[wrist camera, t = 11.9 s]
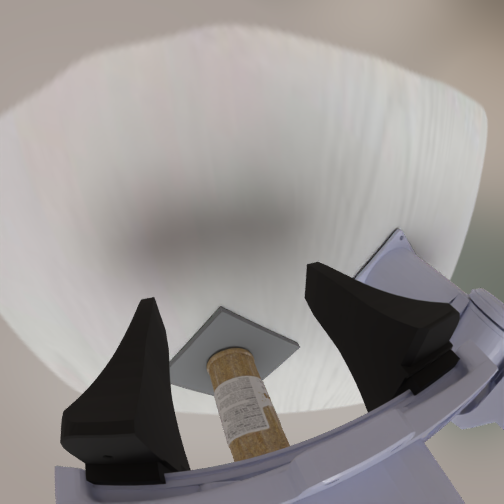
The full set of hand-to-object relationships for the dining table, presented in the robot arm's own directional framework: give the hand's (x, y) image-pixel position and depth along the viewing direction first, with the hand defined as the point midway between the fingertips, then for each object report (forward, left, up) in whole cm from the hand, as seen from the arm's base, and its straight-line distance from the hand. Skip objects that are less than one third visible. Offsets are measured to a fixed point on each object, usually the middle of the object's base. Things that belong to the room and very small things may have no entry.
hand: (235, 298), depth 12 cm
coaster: (-10, +9, -7) cm, 15 cm away
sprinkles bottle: (-9, +9, -7) cm, 14 cm away
